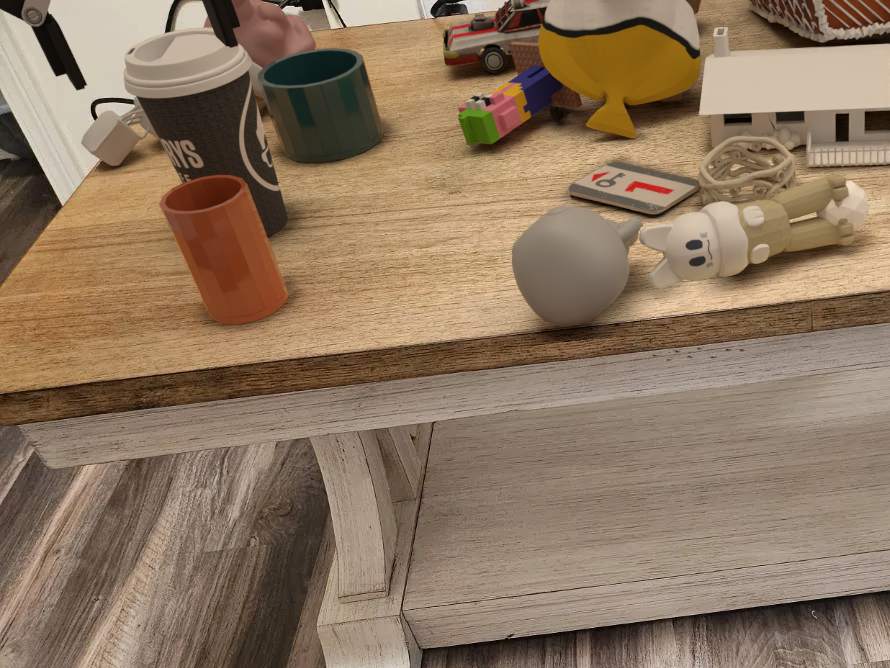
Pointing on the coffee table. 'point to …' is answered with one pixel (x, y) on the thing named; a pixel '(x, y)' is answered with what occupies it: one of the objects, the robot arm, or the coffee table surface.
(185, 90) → the coffee cup
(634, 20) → the fish
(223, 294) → the cup
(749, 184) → the bracelet
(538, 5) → the toy car
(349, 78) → the teal round container
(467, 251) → the coffee table surface
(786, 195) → the rabbit figurine
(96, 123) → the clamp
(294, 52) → the figurine
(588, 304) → the figurine
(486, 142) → the figurine
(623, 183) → the token
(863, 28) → the gingerbread house
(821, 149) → the house
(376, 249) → the coffee table surface
